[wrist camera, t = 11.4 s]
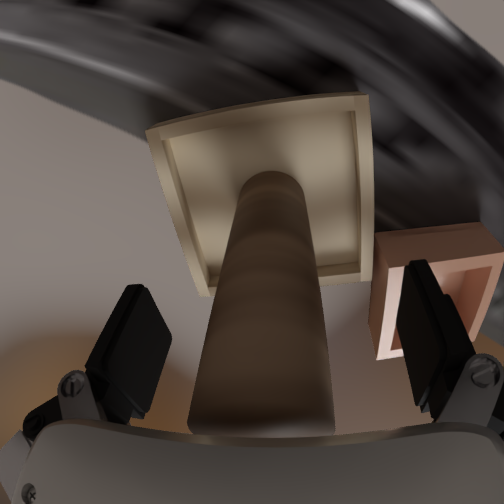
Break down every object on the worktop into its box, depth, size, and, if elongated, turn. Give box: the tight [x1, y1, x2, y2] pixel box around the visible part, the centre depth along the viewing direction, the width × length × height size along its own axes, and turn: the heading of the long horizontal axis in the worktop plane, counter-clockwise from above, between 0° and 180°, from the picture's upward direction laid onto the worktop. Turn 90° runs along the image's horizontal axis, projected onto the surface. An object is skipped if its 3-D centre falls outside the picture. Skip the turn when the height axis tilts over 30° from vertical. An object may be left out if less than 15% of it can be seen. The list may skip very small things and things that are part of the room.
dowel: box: [187, 171, 335, 438], centre depth 13 cm, size 4×4×14 cm
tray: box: [145, 91, 374, 297], centre depth 19 cm, size 12×12×2 cm
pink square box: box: [368, 222, 504, 360], centre depth 21 cm, size 9×9×4 cm
